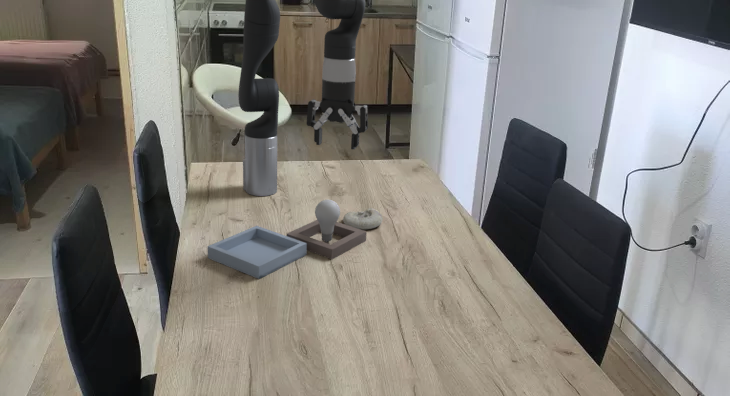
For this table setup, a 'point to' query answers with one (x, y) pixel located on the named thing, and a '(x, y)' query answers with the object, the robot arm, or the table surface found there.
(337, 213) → the lightbulb
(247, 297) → the table surface
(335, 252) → the brownish grey square frame
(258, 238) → the tray
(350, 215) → the fossil
